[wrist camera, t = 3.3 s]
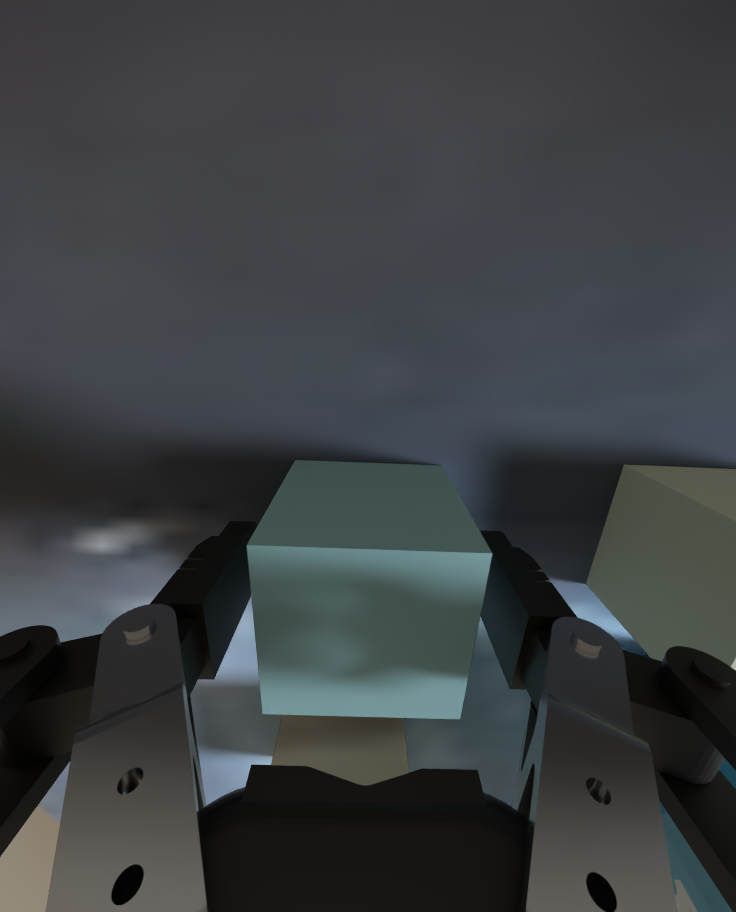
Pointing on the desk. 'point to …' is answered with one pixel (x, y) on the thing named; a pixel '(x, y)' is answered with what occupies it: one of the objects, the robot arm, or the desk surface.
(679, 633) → the sage block
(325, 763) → the maple block
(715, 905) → the data package
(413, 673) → the teal block
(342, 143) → the desk surface
